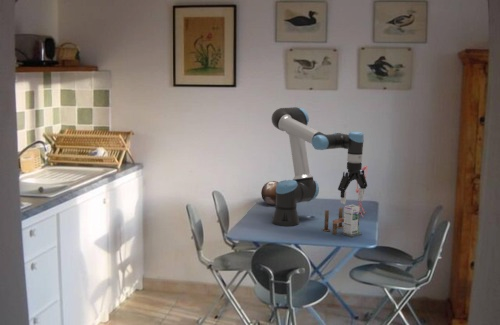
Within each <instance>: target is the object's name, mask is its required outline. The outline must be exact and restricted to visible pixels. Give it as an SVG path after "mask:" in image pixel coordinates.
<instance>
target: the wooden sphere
mask: <svg viewBox="0 0 500 325" xmlns="http://www.w3.org/2000/svg"><path fill="white" fill-rule="evenodd" d="M278 182H279V181H275V180H271V181H268V182H266V183H264V185H263V186H262V188H261V192H260V193H261V198H262V200H263V201H264V202H265V203H266V204H267V205H272V206H276V186H277V183H278Z"/></svg>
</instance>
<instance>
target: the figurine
mask: <svg viewBox="0 0 500 325" xmlns="http://www.w3.org/2000/svg"><path fill="white" fill-rule="evenodd" d="M361 170H364V171H365V173H364V175H365V179H366V178H367V172H368V165H365V166H364V167H362V169H361ZM355 192H356V193H357V194H358V193H359V184H358V183H357V182H356V189H355ZM358 201H359V202H358V206H359V207H360V208H359V214H360V215H361V217H362V218H364V214H365V212H366V211H365V210H364V208H363V206H362V205H363V204H362V203H361V202H362V201H360V200H358ZM361 209H362V212H363V213H362V212H361Z"/></svg>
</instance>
